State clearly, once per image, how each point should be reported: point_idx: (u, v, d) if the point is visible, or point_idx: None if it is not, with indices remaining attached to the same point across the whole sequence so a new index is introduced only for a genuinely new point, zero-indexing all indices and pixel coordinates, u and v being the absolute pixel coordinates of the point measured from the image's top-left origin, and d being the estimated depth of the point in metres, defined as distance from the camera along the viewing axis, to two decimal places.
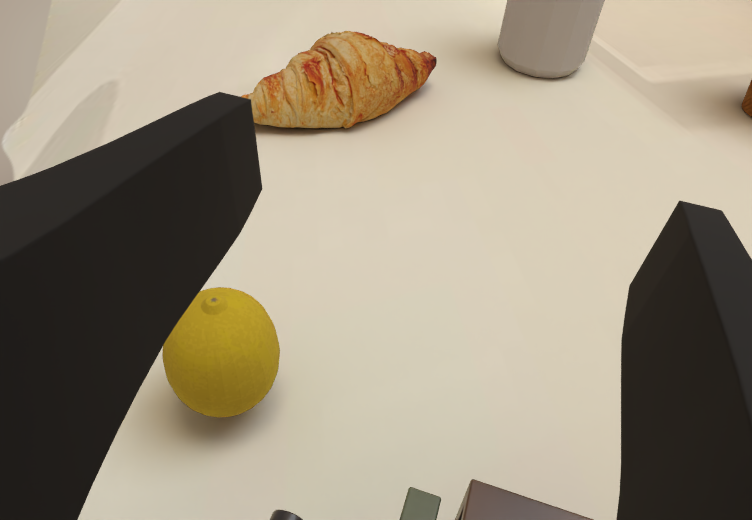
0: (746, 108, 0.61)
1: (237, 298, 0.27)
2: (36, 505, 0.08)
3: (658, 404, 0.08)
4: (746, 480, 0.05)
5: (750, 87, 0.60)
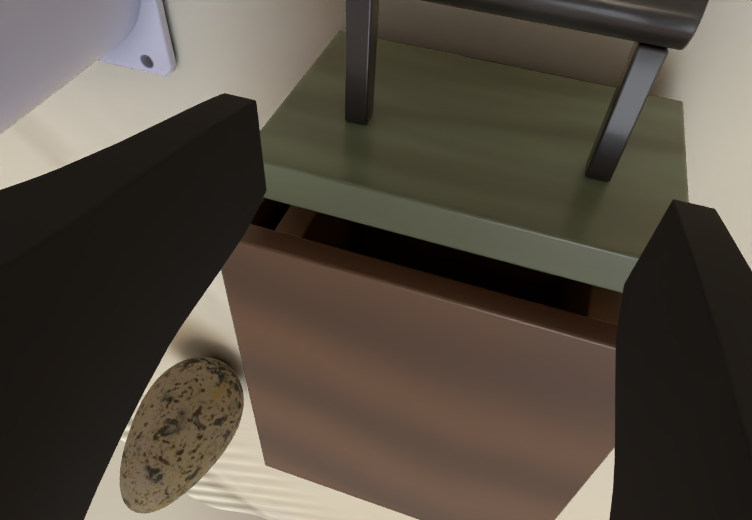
0: None
1: None
2: (42, 507, 0.08)
3: (651, 402, 0.08)
4: (735, 476, 0.05)
5: None
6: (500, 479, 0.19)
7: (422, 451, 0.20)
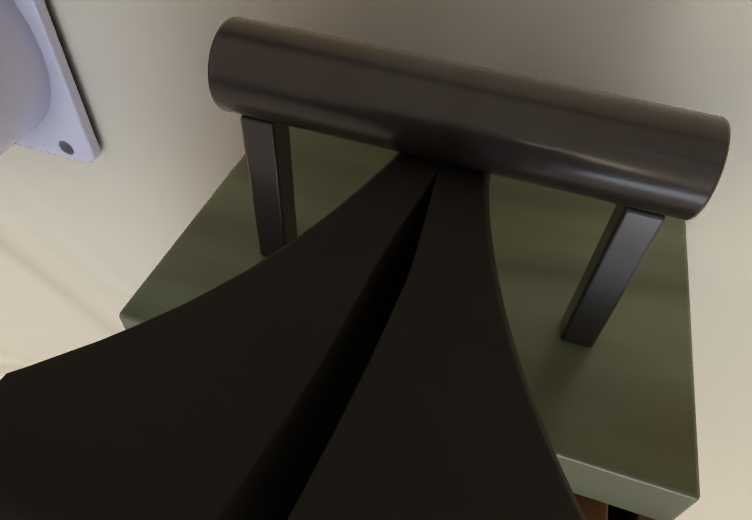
0: None
1: None
2: None
3: None
4: (374, 364, 0.06)
5: None
6: None
7: None
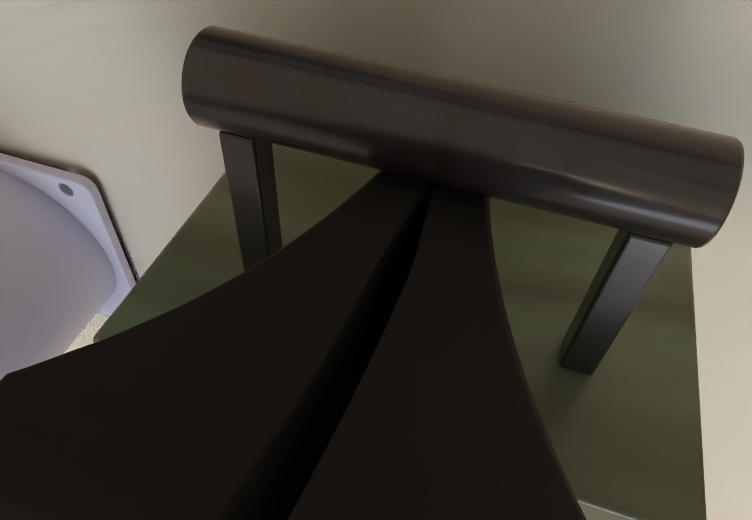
0: None
1: None
2: None
3: None
4: (374, 364, 0.06)
5: None
6: None
7: None
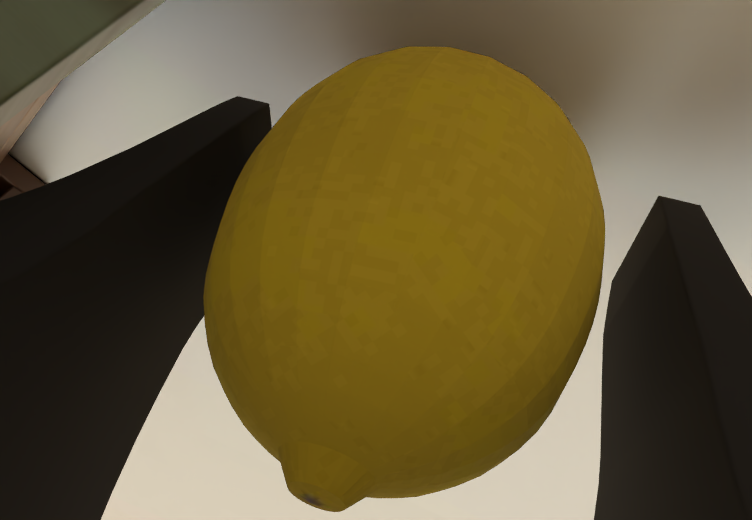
0: None
1: None
2: (58, 514, 0.07)
3: (635, 397, 0.08)
4: (712, 468, 0.05)
5: None
6: None
7: None
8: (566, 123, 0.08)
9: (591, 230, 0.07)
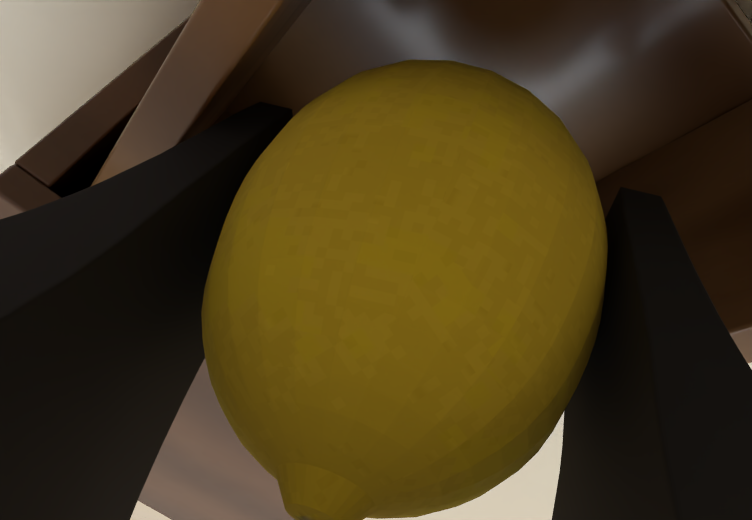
0: None
1: None
2: None
3: (592, 384, 0.08)
4: (647, 448, 0.05)
5: None
6: (216, 492, 0.18)
7: None
8: (569, 138, 0.08)
9: (594, 248, 0.07)
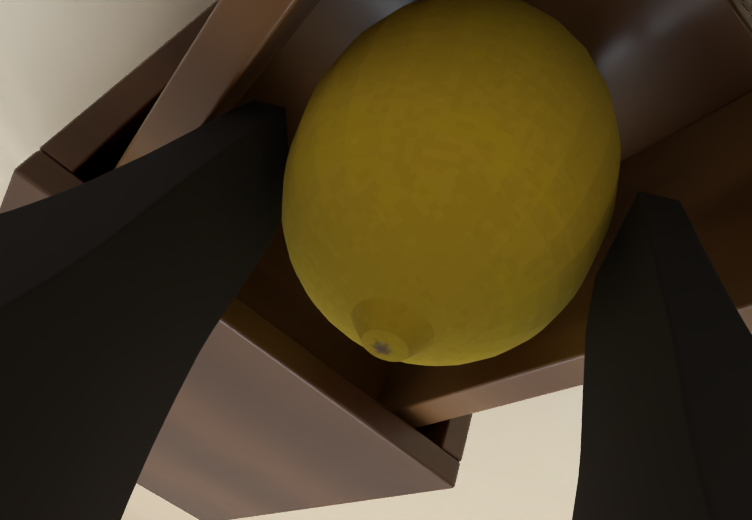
0: None
1: (401, 361, 0.09)
2: None
3: (612, 390, 0.08)
4: (677, 458, 0.05)
5: None
6: (225, 479, 0.19)
7: None
8: (589, 56, 0.09)
9: (611, 141, 0.09)
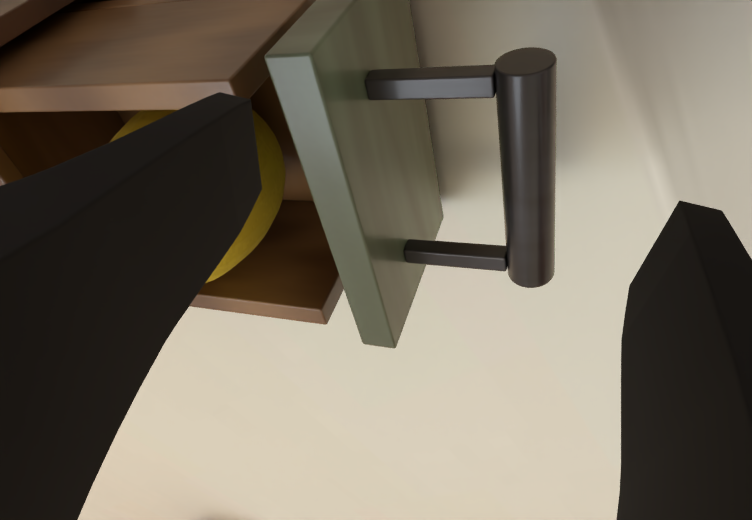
0: None
1: None
2: (36, 505, 0.08)
3: (658, 404, 0.08)
4: (746, 480, 0.05)
5: None
6: None
7: None
8: (279, 172, 0.19)
9: (267, 218, 0.19)
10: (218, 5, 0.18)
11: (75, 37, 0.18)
